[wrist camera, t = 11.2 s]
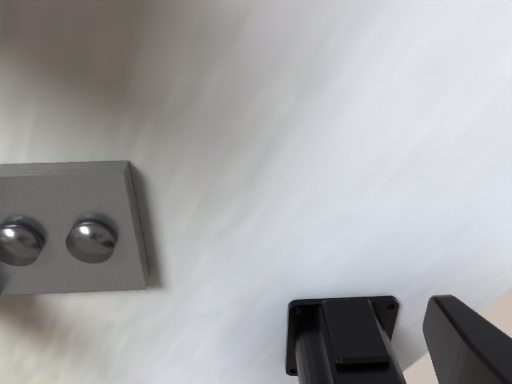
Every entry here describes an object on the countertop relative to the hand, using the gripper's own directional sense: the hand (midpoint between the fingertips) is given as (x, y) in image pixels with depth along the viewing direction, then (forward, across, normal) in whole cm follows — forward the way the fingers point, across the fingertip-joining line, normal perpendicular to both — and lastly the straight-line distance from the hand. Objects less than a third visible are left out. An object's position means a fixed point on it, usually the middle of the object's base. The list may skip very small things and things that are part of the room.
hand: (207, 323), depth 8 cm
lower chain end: (+12, +12, +5) cm, 18 cm away
